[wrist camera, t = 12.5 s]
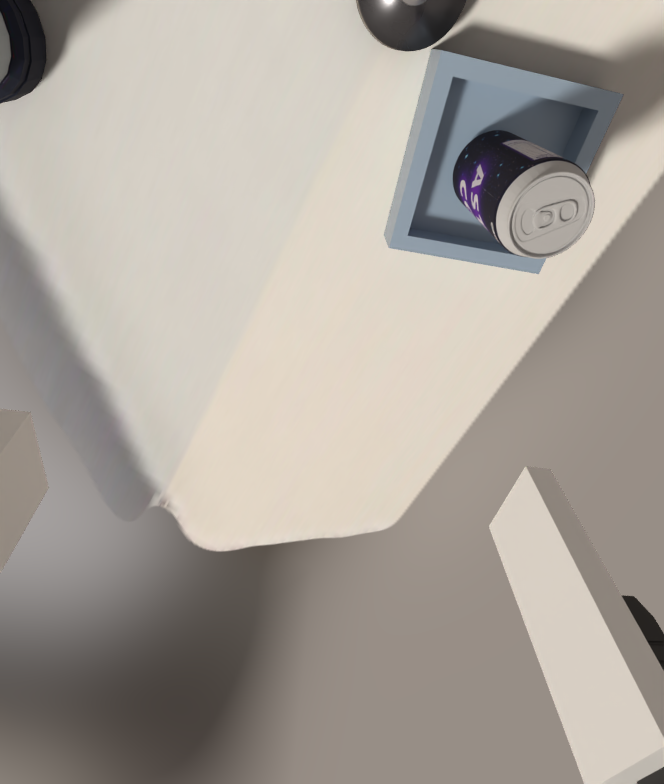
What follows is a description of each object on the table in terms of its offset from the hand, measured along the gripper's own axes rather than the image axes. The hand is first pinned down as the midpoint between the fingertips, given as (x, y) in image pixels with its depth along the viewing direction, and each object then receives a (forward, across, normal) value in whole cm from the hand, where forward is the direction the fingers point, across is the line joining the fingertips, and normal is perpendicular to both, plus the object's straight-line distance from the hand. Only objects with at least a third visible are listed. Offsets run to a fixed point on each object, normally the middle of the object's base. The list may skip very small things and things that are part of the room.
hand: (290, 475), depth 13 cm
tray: (+31, +14, +4) cm, 34 cm away
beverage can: (+30, +14, +4) cm, 33 cm away
